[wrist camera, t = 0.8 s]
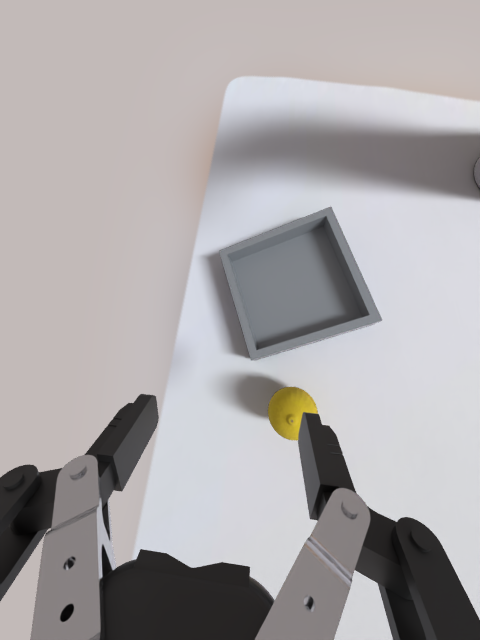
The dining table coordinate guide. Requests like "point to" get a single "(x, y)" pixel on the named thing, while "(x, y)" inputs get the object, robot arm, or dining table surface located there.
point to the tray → (297, 285)
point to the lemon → (289, 411)
